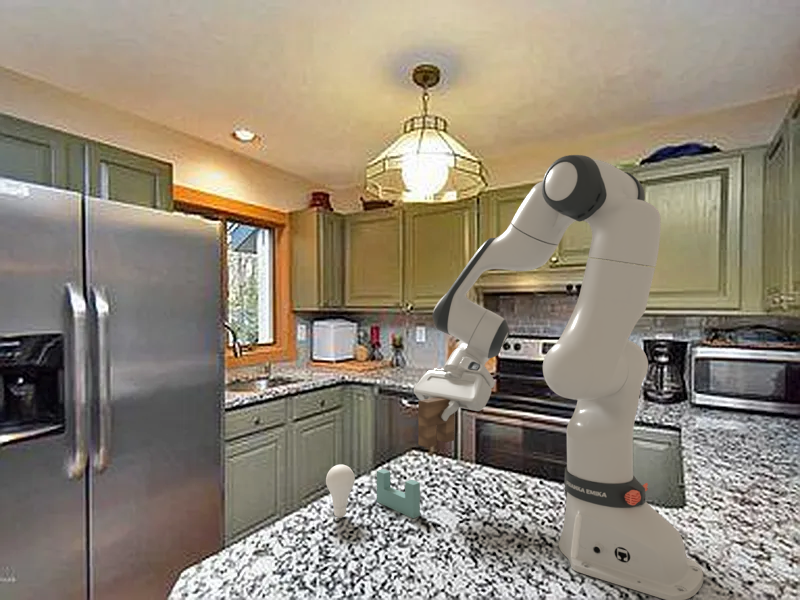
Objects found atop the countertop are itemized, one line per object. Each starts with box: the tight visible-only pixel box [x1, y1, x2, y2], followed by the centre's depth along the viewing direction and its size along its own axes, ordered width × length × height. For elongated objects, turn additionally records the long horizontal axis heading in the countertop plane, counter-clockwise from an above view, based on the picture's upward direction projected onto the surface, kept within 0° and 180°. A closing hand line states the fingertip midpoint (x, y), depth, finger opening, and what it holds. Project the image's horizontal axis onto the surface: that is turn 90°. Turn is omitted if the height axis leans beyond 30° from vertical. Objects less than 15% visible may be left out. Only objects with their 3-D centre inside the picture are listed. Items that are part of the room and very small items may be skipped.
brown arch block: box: [417, 397, 455, 449], centre depth 105 cm, size 3×9×10 cm, turn 133°
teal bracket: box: [376, 468, 421, 519], centre depth 101 cm, size 12×2×7 cm, turn 43°
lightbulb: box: [325, 464, 356, 519], centre depth 96 cm, size 6×6×11 cm
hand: (434, 417), depth 104 cm, fingers closed on brown arch block, 3 cm apart
